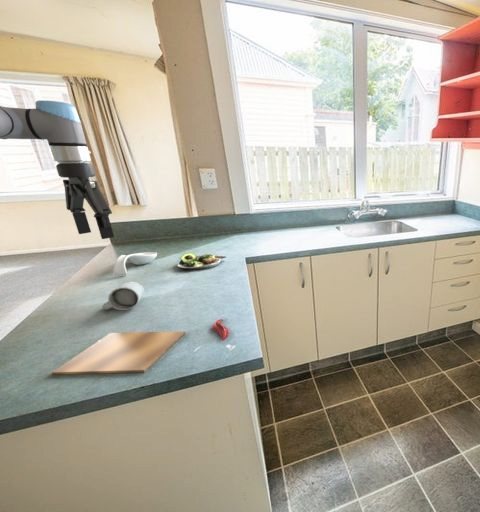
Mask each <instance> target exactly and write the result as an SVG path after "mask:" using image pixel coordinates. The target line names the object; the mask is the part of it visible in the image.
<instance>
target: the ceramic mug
mask: <svg viewBox="0 0 480 512" xmlns="http://www.w3.org/2000/svg"><path fill="white" fill-rule="evenodd" d="M144 295H145V289H144V287H143V286H142V285H141V284H140V283H139V282H136V281H126V282H122V283H121V284H119V285H118V286H117V287H115V288H114V289H113V290H112V291H111V292H110V293H109V294H108V297H107V302H105V303H104V304H103V305H102V306H101V307H102V308H103V309H104V310H105V311H107V310H110V309H112V308H114V309H115V310H119V311H129V310H131V309H134V308H135V307H136V306H137V305H138V304H139V303H140V301H141V300H142V298H143V297H144Z"/></svg>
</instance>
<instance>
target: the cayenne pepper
mask: <svg viewBox="0 0 480 512" xmlns="http://www.w3.org/2000/svg"><path fill="white" fill-rule="evenodd" d="M222 322H223V319H222V318H220V319H218V320H216V321H215V322H213V324H212V325H211V327H212V330H213V331H214V332H217V333H218V334H219V335H220V337H221V341H224V340H226V339H227V338H228V337H229V335H230V333H229V329H228V328H227V326H225V325H223V324H222Z"/></svg>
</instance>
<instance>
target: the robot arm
mask: <svg viewBox="0 0 480 512" xmlns="http://www.w3.org/2000/svg"><path fill="white" fill-rule="evenodd" d="M0 140H46V141H47V143H48V148H49V152H50V154H51V157H52V160H53V161H54V162H57V163H56V164H55V168H56V171H57V175H58V176H59V177H60V178H67V179H63V180H62V183H63V186H64V195H65V206H66V210H67V211H69V212H70V213H71V215H72V217H73V220H74V224H75V226H76V229H77V232H78V235H84V234H90V233H92V231H91V230H92V229H91V228H90V223H89V221H88V217H87V214H86V209H85V208H84V204H85V203H84V202H85V201H86V203H87V204H88V205H89V207H90V208H91V210H92V211H93V212H94V214H93V217H94V218H95V221H96V224H97V228H98V231H99V234H100V238H101V240H106V239H111V238H115V234H114V232H113V228H112V224H111V221H110V220H111V219H110V217H109V216H110V215H112V214H113V211H112V210H111V207H110V206H109V204H108V202H107V200H106V198H105V197H104V194H103V193H102V191H101V189H100V185H99V182H98V181H97V180H91V179H90V178H94V177H96V172H95V167H94V164H92V163H90V162H91V161H92V158H91V154H92V152H91V150H89V148H88V144H87V141H86V137H85V132H84V129H83V125H82V121H81V120H80V116H79V113H78V111H77V109H76V107H75V106H74V105H73V104H71V103H68V102H63V101H56V100H36V101H35V108H24V107H23V108H22V107H21V108H20V107H9V106H2V105H0Z"/></svg>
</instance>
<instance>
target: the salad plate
mask: <svg viewBox="0 0 480 512" xmlns="http://www.w3.org/2000/svg"><path fill="white" fill-rule="evenodd" d="M227 257H228V256H226V255H217V254H212V253H209V254H208V253H205V254H202V255H197V254H195V253H193V252H186V253H184V254H182V255H181V256H180V259H179V260H180V261H179V262H178V263H177V264H178V265H177V269H179V270H181V271H182V272H183V271H185V272H186V271H195V270H196V271H197V270H203V269H208V268H213V267H215V266H218V265H219V264H220V263H221V261H222V260H223V259H226V258H227Z"/></svg>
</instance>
